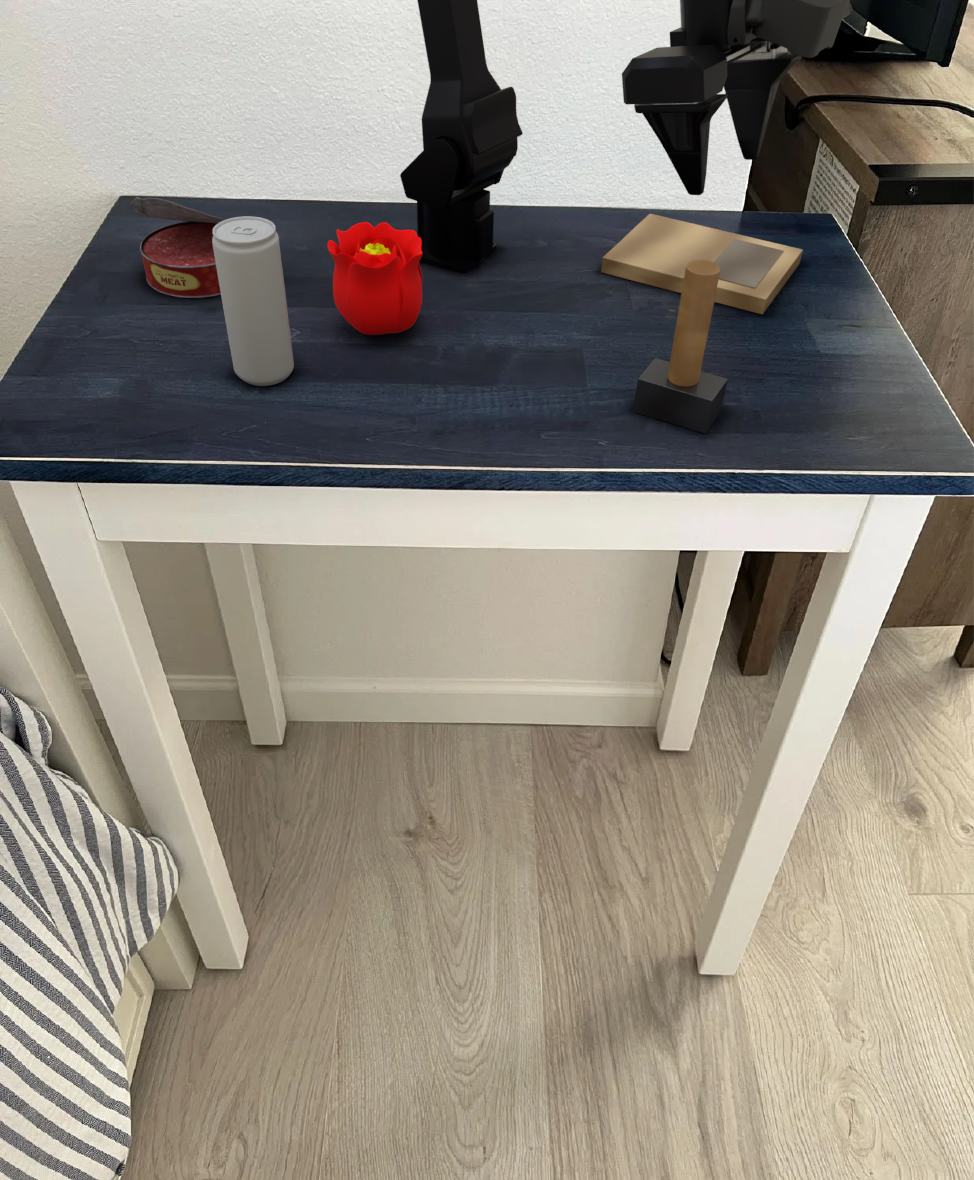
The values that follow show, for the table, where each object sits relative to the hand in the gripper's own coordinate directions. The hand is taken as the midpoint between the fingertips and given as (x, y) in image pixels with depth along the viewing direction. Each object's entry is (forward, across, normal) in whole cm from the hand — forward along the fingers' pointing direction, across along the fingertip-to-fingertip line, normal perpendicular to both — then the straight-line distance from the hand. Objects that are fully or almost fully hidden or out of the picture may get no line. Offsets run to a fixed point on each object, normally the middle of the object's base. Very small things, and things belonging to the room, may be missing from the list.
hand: (724, 176), depth 78 cm
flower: (+9, -16, +25) cm, 31 cm away
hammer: (+15, -11, -1) cm, 18 cm away
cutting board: (+12, +13, +9) cm, 20 cm away
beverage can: (+8, -27, +27) cm, 39 cm away
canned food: (+5, -18, +44) cm, 48 cm away
